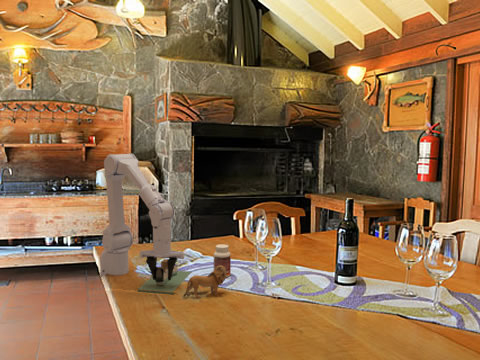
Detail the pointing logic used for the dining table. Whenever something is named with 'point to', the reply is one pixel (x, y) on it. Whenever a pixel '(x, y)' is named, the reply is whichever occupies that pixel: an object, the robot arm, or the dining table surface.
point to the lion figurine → (207, 281)
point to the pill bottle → (223, 258)
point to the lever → (163, 275)
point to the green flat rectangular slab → (168, 286)
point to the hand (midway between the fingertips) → (162, 279)
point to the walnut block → (164, 264)
